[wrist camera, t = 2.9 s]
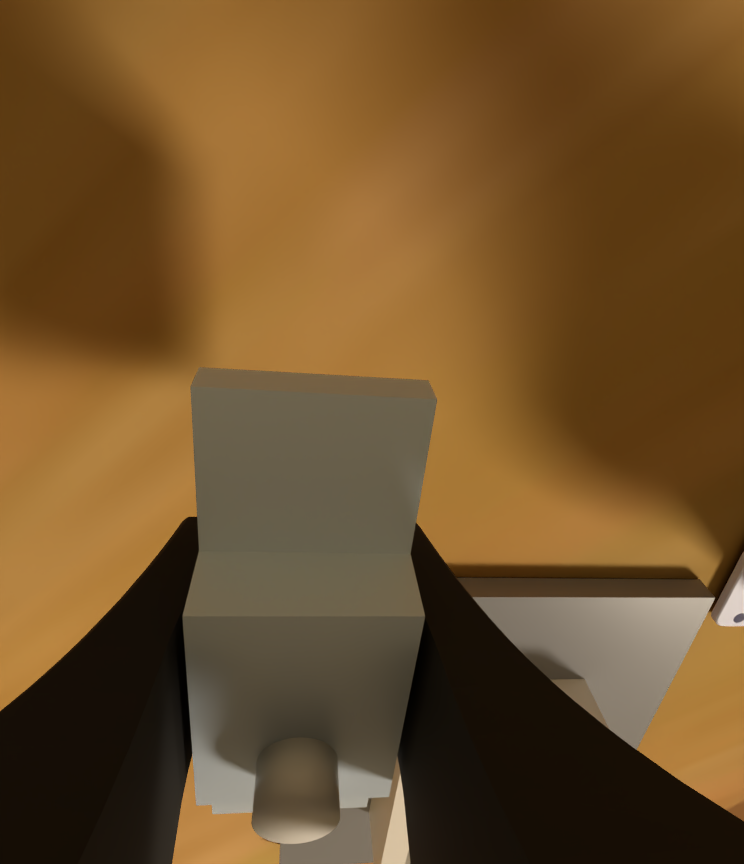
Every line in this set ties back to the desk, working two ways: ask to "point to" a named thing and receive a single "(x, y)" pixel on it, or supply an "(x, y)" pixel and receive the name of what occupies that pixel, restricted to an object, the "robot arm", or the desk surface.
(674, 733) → the desk surface
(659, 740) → the desk surface
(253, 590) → the block
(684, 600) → the pocket plate
